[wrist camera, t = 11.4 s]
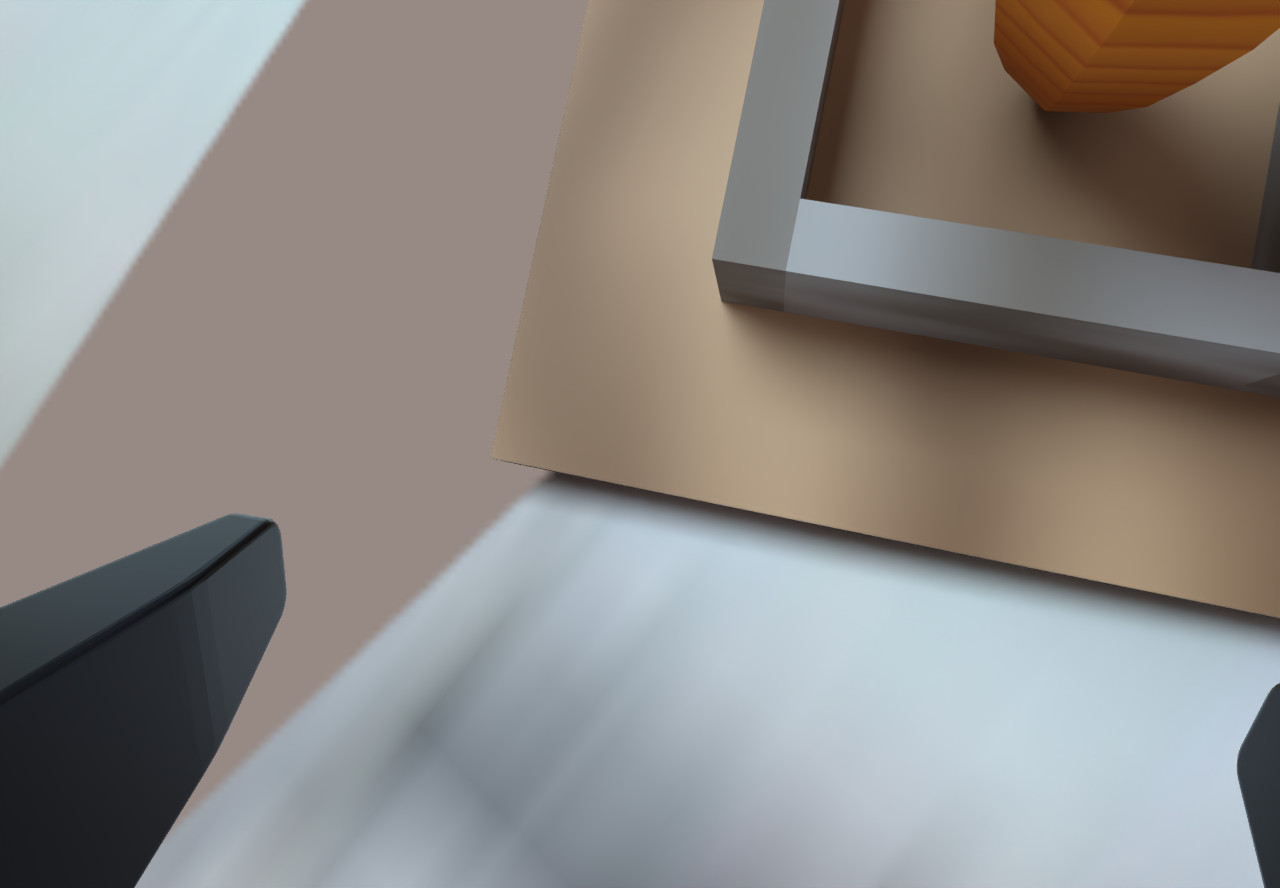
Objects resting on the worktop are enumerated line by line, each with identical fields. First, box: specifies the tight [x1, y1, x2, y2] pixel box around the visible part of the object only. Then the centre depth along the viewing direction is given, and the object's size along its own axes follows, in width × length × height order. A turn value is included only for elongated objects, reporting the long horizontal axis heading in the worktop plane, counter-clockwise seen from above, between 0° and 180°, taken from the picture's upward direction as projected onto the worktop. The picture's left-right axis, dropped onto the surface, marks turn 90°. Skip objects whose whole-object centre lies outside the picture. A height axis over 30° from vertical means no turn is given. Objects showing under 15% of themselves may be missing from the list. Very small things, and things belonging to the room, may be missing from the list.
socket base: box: [491, 0, 1280, 619], centre depth 18 cm, size 18×18×4 cm
